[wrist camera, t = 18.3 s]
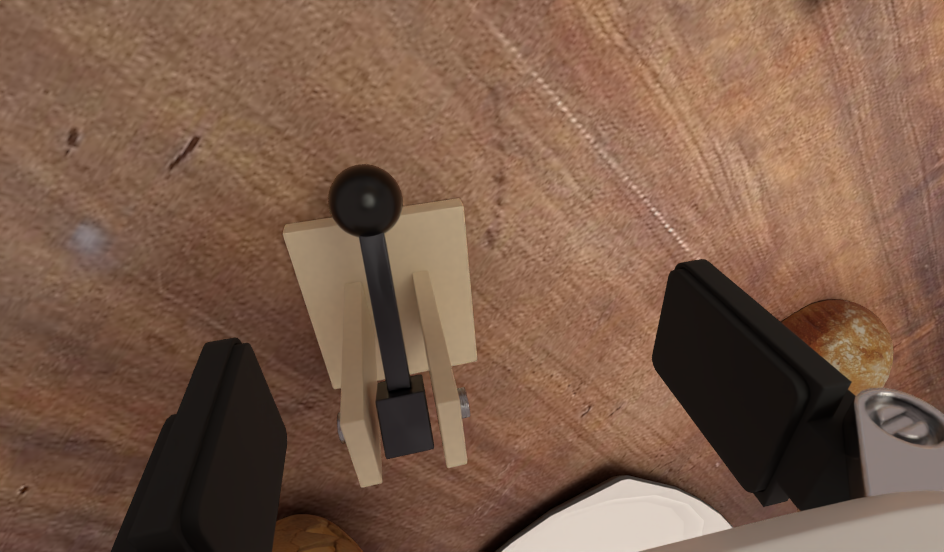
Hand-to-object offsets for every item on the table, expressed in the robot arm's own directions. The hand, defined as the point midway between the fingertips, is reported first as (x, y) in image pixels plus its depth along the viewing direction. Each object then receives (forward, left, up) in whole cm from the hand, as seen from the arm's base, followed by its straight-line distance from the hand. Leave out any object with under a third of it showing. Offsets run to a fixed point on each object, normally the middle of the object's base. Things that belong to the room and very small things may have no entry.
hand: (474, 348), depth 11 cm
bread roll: (+39, +6, -18) cm, 43 cm away
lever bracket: (+6, -9, -18) cm, 21 cm away
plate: (+46, -26, -18) cm, 55 cm away
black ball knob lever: (+3, -6, -11) cm, 13 cm away
